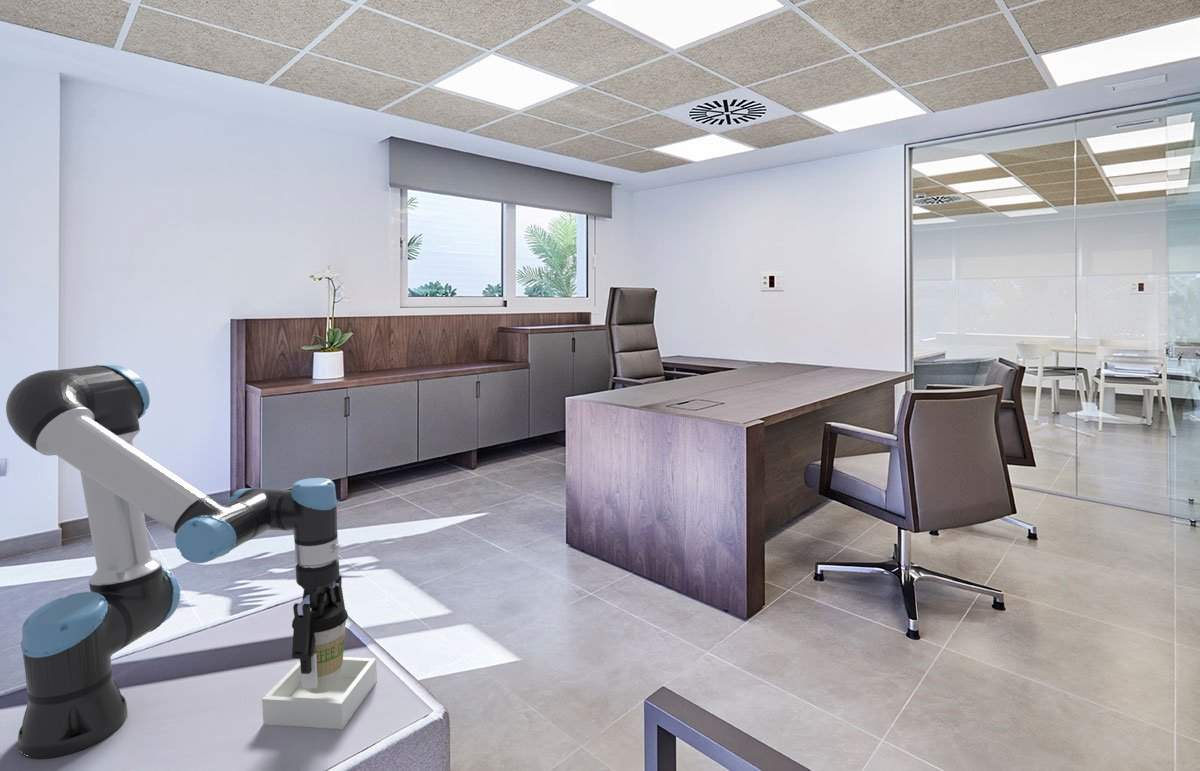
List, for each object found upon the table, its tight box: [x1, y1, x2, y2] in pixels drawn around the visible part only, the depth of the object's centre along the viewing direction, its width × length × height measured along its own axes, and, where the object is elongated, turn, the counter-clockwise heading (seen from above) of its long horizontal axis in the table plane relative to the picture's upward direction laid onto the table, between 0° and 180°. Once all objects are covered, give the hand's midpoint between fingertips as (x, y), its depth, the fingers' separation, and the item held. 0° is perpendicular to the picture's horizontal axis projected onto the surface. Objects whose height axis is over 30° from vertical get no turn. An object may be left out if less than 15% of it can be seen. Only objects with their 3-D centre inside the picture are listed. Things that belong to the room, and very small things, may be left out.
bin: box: [261, 656, 378, 730], centre depth 124 cm, size 15×15×5 cm
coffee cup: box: [291, 601, 349, 694], centre depth 123 cm, size 10×10×15 cm
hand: (322, 672), depth 123 cm, fingers closed on coffee cup, 9 cm apart
